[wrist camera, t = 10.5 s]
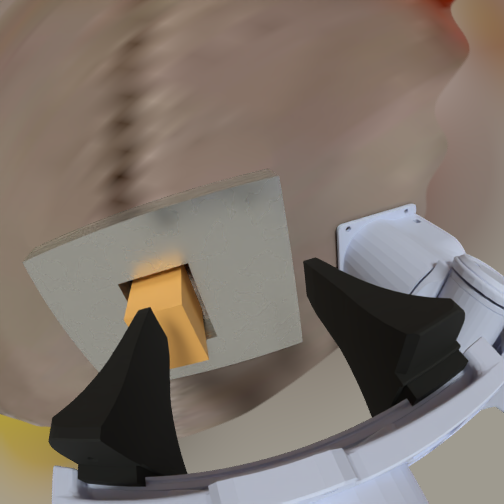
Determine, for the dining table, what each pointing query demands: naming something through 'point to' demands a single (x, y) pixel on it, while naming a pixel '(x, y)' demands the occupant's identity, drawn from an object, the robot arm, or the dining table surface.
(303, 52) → the dining table surface
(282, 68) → the dining table surface
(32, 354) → the dining table surface
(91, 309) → the grey plate with hole
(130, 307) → the orange rectangular block
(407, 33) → the dining table surface
